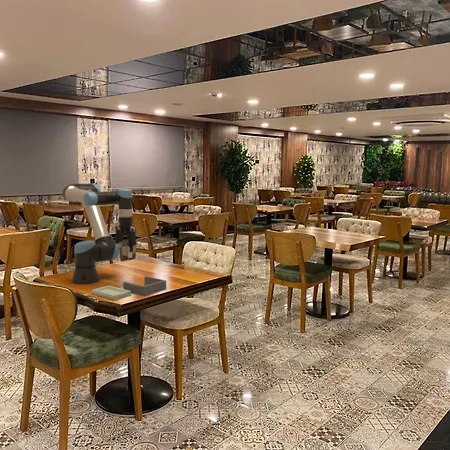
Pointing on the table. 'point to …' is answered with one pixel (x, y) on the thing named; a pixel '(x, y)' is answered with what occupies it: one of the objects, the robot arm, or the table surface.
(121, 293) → the tray
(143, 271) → the table surface
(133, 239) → the robot arm
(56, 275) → the table surface
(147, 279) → the bay
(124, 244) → the food container
